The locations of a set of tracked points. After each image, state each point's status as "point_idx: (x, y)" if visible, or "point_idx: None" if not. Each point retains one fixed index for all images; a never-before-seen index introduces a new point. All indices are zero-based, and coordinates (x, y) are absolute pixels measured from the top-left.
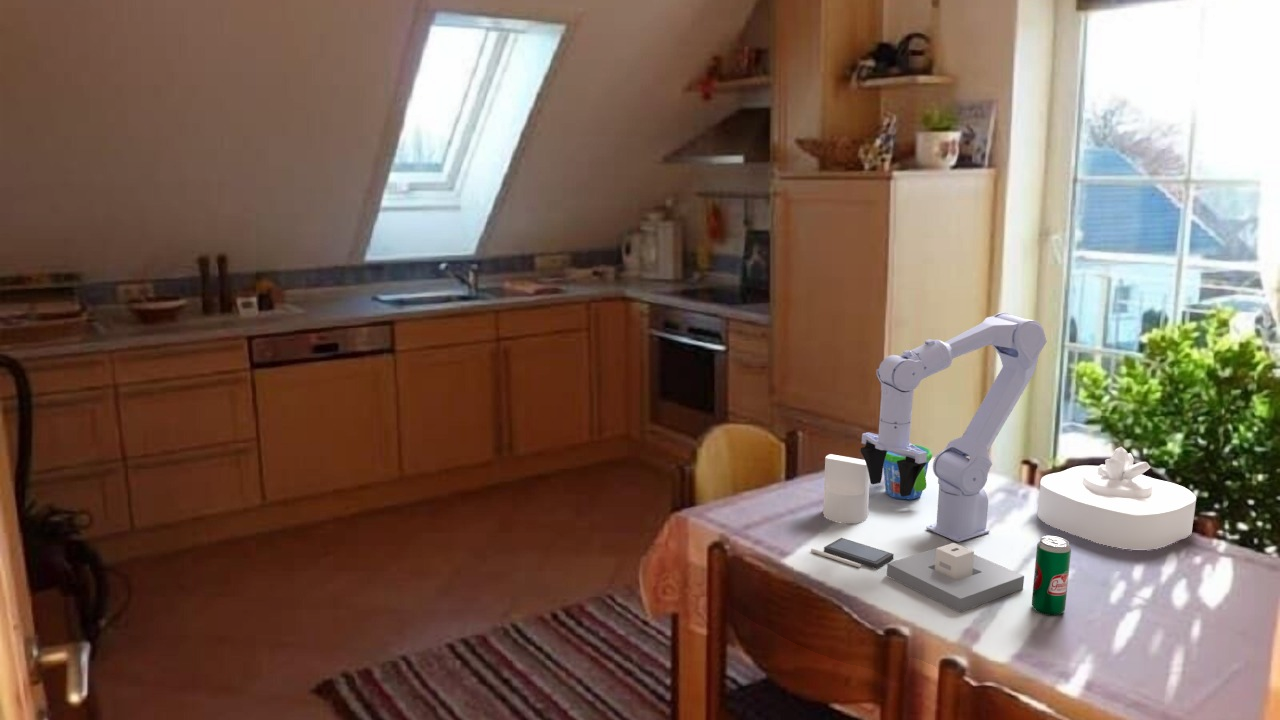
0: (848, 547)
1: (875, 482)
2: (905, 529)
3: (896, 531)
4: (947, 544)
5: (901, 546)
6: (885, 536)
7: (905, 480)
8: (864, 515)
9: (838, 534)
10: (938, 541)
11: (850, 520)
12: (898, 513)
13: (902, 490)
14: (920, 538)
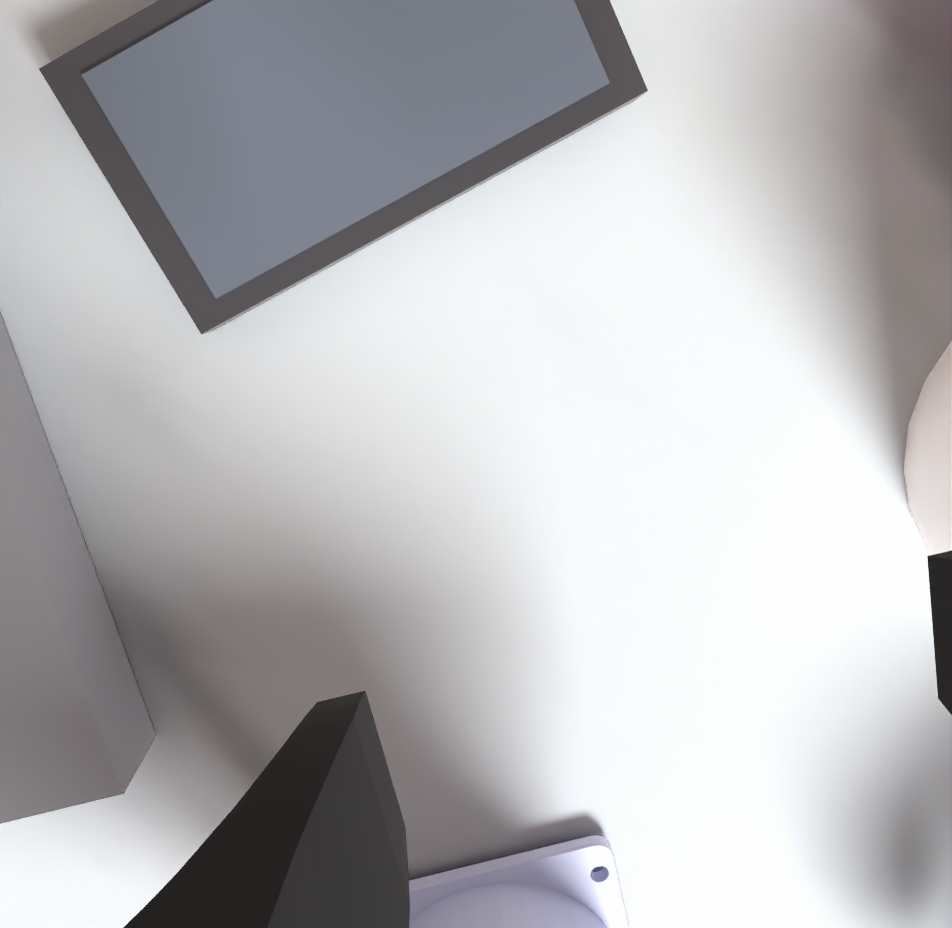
0: (427, 16)
1: (947, 614)
2: (660, 707)
3: (654, 632)
4: (113, 771)
5: (407, 520)
6: (608, 510)
7: (149, 917)
8: (941, 531)
9: (785, 177)
10: (400, 800)
11: (937, 394)
12: (912, 807)
13: (285, 745)
14: (486, 719)
